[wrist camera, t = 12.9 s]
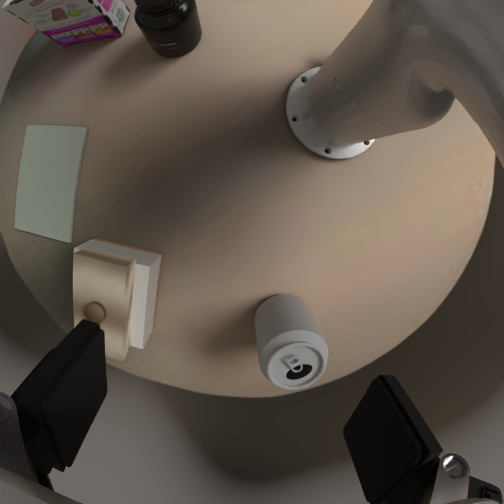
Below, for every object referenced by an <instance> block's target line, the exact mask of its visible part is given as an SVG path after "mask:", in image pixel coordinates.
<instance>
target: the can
mask: <svg viewBox="0 0 504 504" xmlns="http://www.w3.org/2000/svg"><path fill="white" fill-rule="evenodd" d="M254 325H255V333H256V342H257V350H258V358H259V365H260V368H261V371H262V373H263V374H264V376H265V377H266V378H267V379H268V380H270V381H271V382H272V383H273V384H274V385H276V386H277V387H279V388H282V389H287V390H297V389H301V388H305V387H307V386H309V385H311V384H313V383H314V382H316V381H317V380H318V379H319V378H320V377H321V375H322V374H323V372H324V371H325V367H326V363H327V359H328V355H329V354H328V348H327V345H326V343H325V341H324V339H323V337H322V335H321V333H320V331H319V329H318V327H317V325H316V323H315V321H314V319H313V317H312V316H311V314H310V312H309V310H308V308H307V306H306V305H305V303H304V302H303V301H302V300H300V299H299V298H298V297H295V296H292V295H284V294H280V295H276V296H273V297H271V298H269V299H267V300H266V301H264V302H263V303H262V304H261V305H260V306H259V308H258V309H257V312H256V314H255V320H254Z"/></svg>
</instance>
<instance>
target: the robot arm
mask: <svg viewBox="0 0 504 504" xmlns="http://www.w3.org/2000/svg"><path fill="white" fill-rule="evenodd" d="M301 80H304V81H305V82H302V81H301ZM455 97H456V98H457V99H458V101H459V102H460V103H461V104H462V105H463V107H464V108H465V109H466V111H467V112H468V113H469V115H470V116H471V117H472V119H473V120H474V121H475V122H476V123H477V124H478V126H479V127H480V129H481V130H482V132H483V133H484V135H485V136H486V138H487V140H488V141H489V143H490V144H491V146H492V148H493V149H494V151H495V153H496V154H497V156H498V158H499V160H500V161H501V163H502V165H503V167H504V0H373V1H372V3H371V5H370V6H369V8H368V9H367V11H366V12H365V14H364V15H363V16H362V18H361V19H360V20H359V21H358V23H357V24H356V25H355V26H354V28H353V29H352V30H351V31H350V32H349V34H348V35H347V36H346V37H345V39H344V40H343V41H342V42H341V43H340V45H339V46H338V47H337V48H336V49H335V51H334V52H333V53H332V54H331V56H330V57H329V58H328V59H327V61H326V62H325V63H324V64H323V65H322V66H318V67H314V68H311V69H309V70H307V71H305V72H303V73H302V74H300V75H299V76H298V77H297V78H296V79H295V81H294V82H293V84H292V85H291V87H290V89H289V91H288V93H287V97H286V103H285V111H286V117H287V121H288V123H289V126H290V129H291V130H292V132H293V133H294V135H295V137H296V138H297V139H298V140H299V141H300V142H301V144H302V145H304V146H305V147H306V148H307V149H309V150H310V151H312V152H314V153H315V154H317V155H319V156H322V157H325V158H329V159H348V158H353V157H355V156H358V155H360V154H362V153H363V152H365V151H367V150H368V149H369V148H370V147H371V146H372V144H373V143H374V141H375V140H376V139H377V138H381V137H385V136H389V135H394V134H398V133H403V132H407V131H412V130H417V129H422V128H425V127H428V126H431V125H433V124H435V123H437V122H438V121H440V120H441V119H442V118H443V117H444V116H445V115H446V114H447V113H448V111H449V110H450V108H451V106H452V104H453V102H454V100H455ZM292 118H295V119H296V121H295V122H294V121H292ZM364 142H365V144H364ZM325 149H326V150H327V151H328V152H327V153H325ZM106 394H107V378H106V360H105V332H104V330H102V329H101V328H100V325H99V324H98V323H95V322H92V321H89V320H86V319H83V320H81V321H80V322H79V323H78V324H77V325H76V327H75V328H74V329H73V330H72V331H71V332H70V333H69V334H68V335H67V336H66V337H65V338H64V339H63V341H62V342H61V343H60V344H59V345H58V346H57V347H56V348H53V349H52V350H51V351H49V353H48V354H47V355H46V356H45V357H44V358H43V359H42V360H41V362H40V363H39V364H38V365H37V366H36V367H35V368H34V369H33V371H32V372H31V373H30V374H29V375H28V376H27V377H26V379H25V380H24V381H23V382H22V384H21V385H20V386H19V387H18V388H17V389H16V391H15V392H14V393H13V394H12V395H11V397H10V396H8V395H7V394H5V393H3V392H1V391H0V504H82V503H79V502H77V501H75V500H72V499H70V498H68V497H65V496H63V495H61V494H59V493H57V492H55V491H54V489H53V486H52V484H51V481H50V478H49V475H48V474H49V473H50V472H51V470H52V468H55V469H57V470H59V471H61V472H64V470H65V467H66V466H67V467H71V465H72V464H73V462H74V460H75V457H76V455H77V453H78V451H79V449H80V447H81V445H82V443H83V441H84V439H85V437H86V434H87V432H88V430H89V428H90V426H91V424H92V422H93V420H94V418H95V416H96V414H97V412H98V411H99V409H100V406H101V405H102V403H103V401H104V399H105V397H106ZM343 434H344V438H345V441H346V444H347V446H348V449H349V452H350V455H351V457H352V460H353V463H354V466H355V469H356V472H357V475H358V478H359V481H360V483H361V486H362V489H363V492H364V495H365V498H366V500H367V501H368V502H369V503H370V504H504V500H502V495H501V491H500V489H499V488H498V487H496V486H494V485H492V484H490V483H487V482H484V481H481V480H479V479H477V478H474V477H471V476H470V468H469V465H468V463H467V462H466V461H465V459H464V458H462V457H461V456H459V455H457V454H454V453H448V454H445V455H444V456H443V457H442V458H441V459H440V458H439V457H438V456H439V455H440V453H441V452H442V451H443V449H442V448H441V446H440V444H439V443H438V441H437V440H436V438H435V436H434V435H433V433H432V432H431V430H430V429H429V427H428V425H427V424H426V422H425V421H424V419H423V418H422V417H421V415H420V413H419V412H418V410H417V409H416V407H415V405H414V404H413V402H412V401H411V400H410V398H409V397H408V395H407V393H406V392H405V390H404V389H403V387H402V386H401V385H400V383H399V382H398V380H397V379H396V377H395V376H393V375H379V376H378V377H377V378H376V379H374V380H373V381H372V382H371V384H370V386H369V388H368V389H367V391H366V393H365V395H364V396H363V398H362V400H361V401H360V403H359V405H358V406H357V408H356V410H355V411H354V413H353V414H352V416H351V418H350V419H349V420H348V422H347V423H346V425H345V427H344V430H343Z"/></svg>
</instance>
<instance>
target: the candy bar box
mask: <svg viewBox="0 0 504 504" xmlns="http://www.w3.org/2000/svg"><path fill="white" fill-rule="evenodd" d="M2 8H3V9H5V10H7V11H9V12H10V13H12V14H14V15H15V16H17V17H18V18H20V19H22V20H23V21H25V22H26V23H28V24H29V25H31V26H33V27H34V28H36V29H37V30H39V31H40V32H42V33H44V34H45V35H47V36H48V37H50V38H51V39H53V40H54V41H56V42H57V43H59V44H60V45H62V46H67V45H71V44H76V43H80V42H85V41H90V40H96V39H102V38H108V37H115V36H122V35H123V32H124V29H125V26H126V23H127V20H128V18H129V15H130V10H129V9H128V7H127V6H126V4H125V3H124V2H123V0H6V1H5V4H4V5H3V7H2Z"/></svg>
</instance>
